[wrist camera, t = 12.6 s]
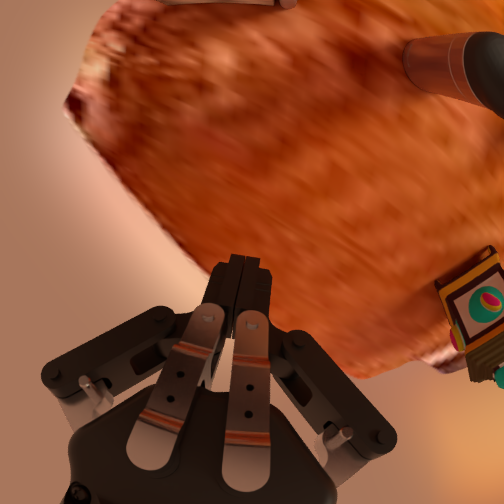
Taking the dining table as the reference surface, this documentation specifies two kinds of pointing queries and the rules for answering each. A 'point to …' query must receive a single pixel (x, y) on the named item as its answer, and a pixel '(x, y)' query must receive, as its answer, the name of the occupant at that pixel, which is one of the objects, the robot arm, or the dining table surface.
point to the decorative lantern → (478, 317)
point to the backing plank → (288, 3)
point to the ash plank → (217, 1)
